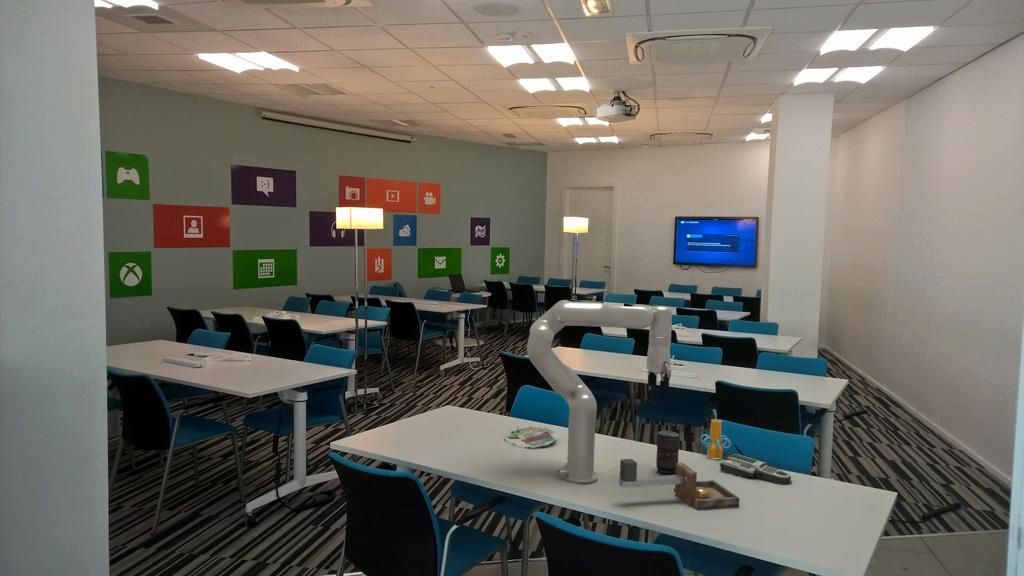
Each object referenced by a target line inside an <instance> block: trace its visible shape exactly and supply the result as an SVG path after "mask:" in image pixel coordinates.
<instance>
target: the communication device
mask: <svg viewBox="0 0 1024 576" xmlns="http://www.w3.org/2000/svg"><path fill="white" fill-rule="evenodd" d="M733 446H734V447H735V449H736V450H737V452H738V454H737V453H736V454H735V453H734V452H730V453H727V454H726V455H725V456H723V460H721V461H720V462H719V467H720V471H721V472H722V473H725V474H729V475H732V476H735V475H736V477H739V476H740V477H739V478H744V477H747V478H753V477H755V478H758V479H760V480H764V481H766V482H770V483H773V484H778V485H788V484H790V483H791V481H792V480H791V479H792V475H791V474H790V473H789V472H787V471H785V470H781V469H779V468H776V467H772V466H769V465H767V462H765V461H761V460H758V459H754V458H751V457H747V456H746V455H745V454H744V453H743V451H742V450H741V449H740V448H739V447H738V446H737V444H736V443H733Z"/></svg>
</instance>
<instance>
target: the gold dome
mask: <svg viewBox="0 0 1024 576" xmlns="http://www.w3.org/2000/svg"><path fill="white" fill-rule="evenodd" d="M696 498H700V499H706V498H708V489H707V488H704V487H696Z"/></svg>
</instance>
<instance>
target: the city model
mask: <svg viewBox="0 0 1024 576" xmlns="http://www.w3.org/2000/svg"><path fill="white" fill-rule="evenodd" d="M509 434H510V435H511V436H506V437H508V438H509V439H518V440H521V441H522V442H525V444H527V445H529V446H530V447H531V448H530V449H535V448H538V447H543V446H544V447H545V446H549V445H550V444H553V443H554V442H556V441H555V440H557V439H558V436H559V433H558V432H557V431H556V430H554V429H553V428H552V429H551V428H550V427H549V428H548V427H541V426H539V427H538V426H537V427H535V426H534V427H533V426H529V427H525V428H519V426H516V430H515V431H514V430H512V431H510V433H509Z"/></svg>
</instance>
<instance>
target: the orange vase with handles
mask: <svg viewBox="0 0 1024 576" xmlns="http://www.w3.org/2000/svg"><path fill="white" fill-rule="evenodd" d="M722 422H723V421H722V420H721V419H715V418H714V419H711V420H710V435H709V434H706V433H705V434H704V433H703V434H702V435H701V436H700V442H701V443H702V444H703V447H705V448H707V449H706V450H707V452H706V456H709V457H713V458H722V459H724V456H723V454H724V449H730V448H731V446H732V442H731V440H730V439H729V438H728V437H727V436H726V435H724V434H723V435H722ZM704 437H705V438H704ZM703 438H704V439H703ZM707 440H708V441H707ZM706 441H707V442H706ZM723 441H724V443H723ZM727 443H728V445H727ZM725 445H727V446H725ZM709 457H708V458H709Z"/></svg>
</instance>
